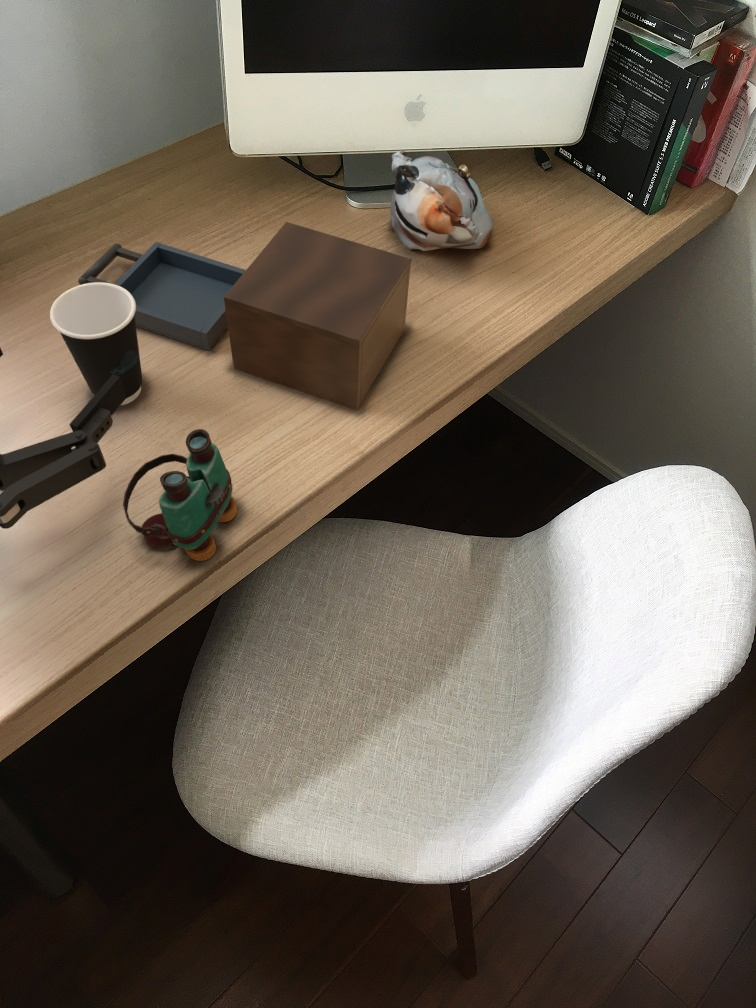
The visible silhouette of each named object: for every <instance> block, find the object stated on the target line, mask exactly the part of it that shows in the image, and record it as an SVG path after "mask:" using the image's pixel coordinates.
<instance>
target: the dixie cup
mask: <svg viewBox="0 0 756 1008" xmlns="http://www.w3.org/2000/svg"><path fill="white" fill-rule="evenodd" d="M110 283H111V282H110ZM110 283H102V282H95V283H87V284H82V285H80V284H79V285H76V286H74V287H72V288H70V289H67V290H66V291H64V292H62V294H60V295H59V296H58V297H57V298H56V299H54V301H53V303H52V305H51V307H50V311H49V317H50V318H49V319H50V322H51V324H52V326H53V327H54V328H55V329H56V330H57V331H58V332H59V333H60V335H61V337H62V339H63V341H64V343H65V345H66V346H67V349H68V350H69V352H70V354H71V357H72V358H73V360H74V362H75V364H76V366H77V368H78V369H79V371H80V372H81V375H82V377H83V379H84V381H85V382H86V384H87V386H88V388H89V390H90V392H91V393H92V394H93V396H94V395H95V394H96V393H97V392H98V391H99V390H100V389H101V387H102V386H103V385H104V384H105V383H106V382H107V381H108V379H109V378H110V377H111V376H112V375H116V376H119V377H120V379H121V382H122V385H123V388H124V391H125V395H126V399H125V400H124V402H123V403H122V404H121V405H120V406H125V405H128V404H131V402H133V401H135V400H136V399H137V398H138V397H139V396H140V394H141V391H142V384H143V373H142V364H141V357H140V349H139V341H138V340H139V339H138V332H137V326H136V323H135V315H134V314H135V311H136V303H135V300H134V298H133V296H132V295H131V294H130V293H129V292H128V291H127V290H126V289H124V288H122V287H120V286H118V285H114V284H115V283H113V284H110ZM120 406H119V407H120Z"/></svg>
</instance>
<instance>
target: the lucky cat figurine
mask: <svg viewBox="0 0 756 1008" xmlns="http://www.w3.org/2000/svg"><path fill="white" fill-rule="evenodd" d="M391 160H392V161H391V172H392V174H393V177H394V178H395V181H394V183H395V184H394V190H393V191H392V193H391V198H390V206H389V207H390V208H389V211H390V218H389V225H390V229H391V231H392V232H393V233H394V234H395V235H396V236H397V238H398V239H399V240H400V242H401V244H402V245H403V246H404V247H405V248H406V249H408V250H420V251H422V252H427V251H433V250H440V249H463V250H475V249H478V250H479V249H482V248H484V247H485V246H486V244H487V242H488V239H489V237H490V235H491V234H492V232H493V228H494V223H495V219H494V218H493V217H492V216H491V214H490V212H489V210H488V208H487V207H486V204H485V202H484V199H483V196H482V195H483V194H482V192H481V190H480V188H479V186H478V184H477V182H475V180H473V179H472V178H471V175H472V173H471V169H470V168H469V166H467V165H466V164H461V165H459V166H458V168H457V167H453V166H452V165H450V164H449V163H446V162H444V161H443V160H442V159H440V158H438V157H436V156H432V155H424V156H421V157H417V158H415V159H413V158H411V157H409V156H408V154H407V153H406V151H405V150H398V151H396V152H395V153H392V154H391Z"/></svg>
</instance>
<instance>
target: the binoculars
mask: <svg viewBox="0 0 756 1008" xmlns="http://www.w3.org/2000/svg"><path fill="white" fill-rule="evenodd" d="M185 446H186V448H187V450H188V452H189V455H188V456H187V457H186V456H183V455H180V454H176V453H168V454H162V455H159V456H157V457H155V458H153V459H150V460H149V461H147V462H145V463H144V464H142V466H141V467H140V468H138V469H137V470H136V471H135V472H134V474H133V475H132V477H131V479H130V480H129V482H128V484H127V487H126V489H125V492H124V495H123V501H122V507H123V511H124V514H125V518H126V520H127V522H128V524H129V525H130V526H131V527H132V528H133V529H134V530H135V531H136V533H139V534H141V535H142V536H143V538H144V541H145V543H146V544H147V545H149V546H150V547H154V548H155V547H157V548H158V547H160V548H161V547H168V546H170V545H174V546H176V547H178V548H180V549H183V550H184V551H185V554H186V555H187V556H188V557H189V558H190V559H192V560H194V561H198V562H203V561H207V560H209V559H211V558H212V557H213V556H214V554H215V553H216V550H217V545H216V542H215V539H214V536H213V535H212V533H213V531H214V529H215V528H216V526H217V524H218V522H219V523H226V522H230V521H231V520H233V519H234V518H235V517H236V516H237V513H238V508H237V504H236V501H235V498H234V497H233V496H232V494H233V489H234V487H233V483H232V477H231V474H230V471H229V470H228V469H227V467H226V464H225V462H224V459H223V457H222V454H221V452H220V449H219V447H218V446H217V444H215V443H213V442H212V440H211V436H210V433H209V432H208V431H207V430H205V429H203V428H197V429H194V430H192V431H191V432H189V433H188V435H187V436H186V438H185ZM173 462H177V463H181V464H185V466H186V467H185V468H186V471H187V474H185V472H182V471H180V470H170V471H167V472H165V473H163V474H162V475H160V476H159V482H160V484H161V487H162V488H163V490H164V492H163V493H162V494H161V496H160V498H159V500H158V503H159V507H160V511H161V513H157V514H154V515H151V516H150V517H148V518H147V519H146V520H145V521H144V522H143V523H142V525H137V524H135V523H134V522H133V520H131V519H130V516H129V512H128V509H129V503H130V499H131V496H132V493H133V491H134V489H135V488H136V486H137V484H138V483H139V481H140V480H141V479H142V478H143V477H144V476H145V475H146V474H147V473H148V472H149V471H151V470H153V469H155V468H157V467H159V466H161V465H164V464H167V463H173Z"/></svg>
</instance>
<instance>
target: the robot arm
mask: <svg viewBox="0 0 756 1008" xmlns="http://www.w3.org/2000/svg"><path fill="white" fill-rule="evenodd" d="M3 355H4V352H3V350H2V347H0V358H1V357H2V356H3ZM125 399H126V395H125V391H124V388H123V385H122V382H121V379H120V377H119V376H116V375H112V376H111V377H110V378H109V379H108V381H107V382H106V383H105V384H104V385H103V386H102V387H101V389H100V390H99V391H98V392H97V393H96V394H95V395H94V394H93V396H92V397H91V399H90V400H89V401H87V403H86V405H84V407H83V408H82V409H81V410H80V411H79V413H78V414H76V416H75V417H74V418H73V419H72V420H71V421H70V423H69V426H70V429H71V432H68V433H65V434H62V435H59V436H55V437H53V438H49V439H47V440H42V441H41V442H37V443H34V444H30V445H27V446H24V447H21V448H18V449H15V450H12V451H9V452H6V453H0V528H1V529H3V530H8V529H10V528H12V527H14V525H15V524H16V523H17V522H18V521H20V520H21V519H22V518H23V517H24V516H25V515H26V514H27V513H28V512H30V511H31V510H33V509H34V508H37V507H39V506H40V505H41V504H44V503H45V502H48V501H49V500H50V499H52V498H54V497H56V496H58V495H60V494H61V493H63V492H65V491H67V490H69V489H71V488H72V487H75V486H76V485H78V484H80V483H82V482H84V481H85V480H87V479H89V478H91V477H92V476H94V475H96V474H98V473H99V472H101V471H103V470H104V469H106V467H107V462H106V459H105V457H104V455H103V452H102V449H101V447H100V444H99V442H100V441H101V440H102V438H103V437H104V436H106V435H105V434H107V432H108V431H109V430H110V429H111V427H112V426H113V424H114V420H113V417H112V416H113V415H114V414H115V413H116V411H117V410H118V409H119V408H120V405H121V404H122V403H123V402H124V400H125ZM121 406H122V405H121Z"/></svg>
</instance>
